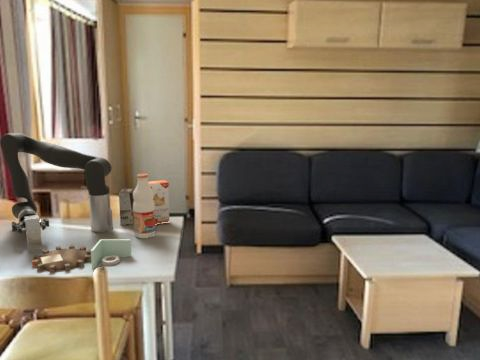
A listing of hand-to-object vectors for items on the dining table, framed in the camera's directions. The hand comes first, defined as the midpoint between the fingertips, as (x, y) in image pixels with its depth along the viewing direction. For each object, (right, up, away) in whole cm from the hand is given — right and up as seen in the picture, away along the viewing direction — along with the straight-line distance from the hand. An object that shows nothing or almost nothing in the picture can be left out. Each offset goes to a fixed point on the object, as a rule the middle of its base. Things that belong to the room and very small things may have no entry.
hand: (32, 229), depth 184 cm
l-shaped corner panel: (+36, -12, -11) cm, 40 cm away
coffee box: (+31, -1, +36) cm, 47 cm away
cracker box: (+44, -1, +33) cm, 55 cm away
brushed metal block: (+1, -8, -1) cm, 9 cm away
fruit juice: (+43, -5, +18) cm, 46 cm away
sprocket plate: (+17, -11, -11) cm, 23 cm away
